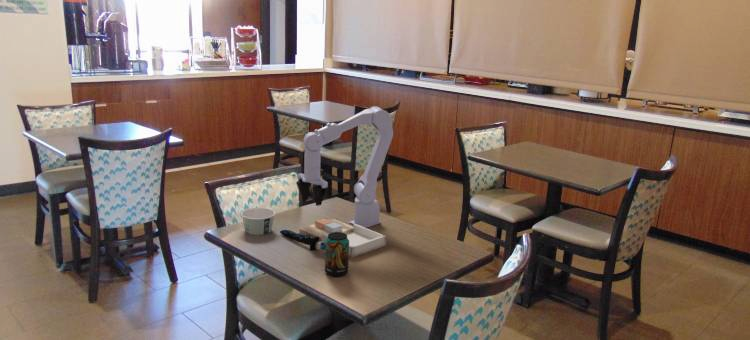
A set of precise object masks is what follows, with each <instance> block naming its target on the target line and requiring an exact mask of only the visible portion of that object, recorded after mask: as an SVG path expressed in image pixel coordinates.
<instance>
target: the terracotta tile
mask: <svg viewBox="0 0 750 340" xmlns="http://www.w3.org/2000/svg"><path fill="white" fill-rule="evenodd" d="M330 220H331V219H327V218H324V217H323V218H321V219H318V220H315V221H314V222H315V223H314V224H315V226H316V227H318V228H320V229H323V230H324V225H326V224H329V223H332V222H333V221H330Z"/></svg>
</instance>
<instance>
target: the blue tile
mask: <svg viewBox="0 0 750 340" xmlns="http://www.w3.org/2000/svg"><path fill="white" fill-rule="evenodd" d="M324 230H325V231H327V232H330V233H333V232H340V231H342V225H340V224H338V223H335V222H332V223H329V224H326V225H324Z"/></svg>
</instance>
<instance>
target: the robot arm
mask: <svg viewBox="0 0 750 340" xmlns="http://www.w3.org/2000/svg"><path fill="white" fill-rule="evenodd" d="M361 125H367V126H373V127H374V128H375V131H376V132H377V134H378V135H377V137H376V140H375V142H374V145H373V147H372V148H373V149H372V151H371V154H370V156H369V158H368V161H367V164H366V167H365V170H364V173H363V174H362V175H361V176H359V179H358V181H357V182H356V183H355V184H354V185H353V192H354V194H355V195H356V196H355V198H354V211H353V212H354V214H353V219H352V220H349V221H348V223H349V224H351V225H353V226H354V224H357V225H360V226H362V227H365V228H367V229H368V228H370V227H372V226H375V225H378V224H381V223H382V222H381V221H380V213H381V212H380V211H381V208H380V207H381V206H380V203H379V201H378V199H376V197H377V188H378V177H379V175H380V172H381V169H382V166H383V164H384V161H385V159H386V156H387V153H388V151H389V147H390V146H391V144H392V140H393V138H394V129H393V118H392V116H391V115H390V114H389V112H388V111H387V110H385V109H383V108H381V107H379V106H377V105H376V106H374V105H373V106H371V107H369V108H366V109H363V110H362V111H360V112H358V113H356V114H354V115H353V116H351V117H349V118H347V119H345V120H343V121H341V122H339V123H335V122H331V123H330V122H328V123H326V124H325V126H324V127H321V128H319V129H317V128H316V129H314V130H313V131H311V132H310V131H309V132H307V133H306V134H305V136H304V137H303V139H302V141H303V142H302V143H303V144H304V157H303V158H304V160H303V161H304V162H303V163H304V165H303V166H304V167H303V172H304V173H301V172H300V173H297V180H298V181H296V184H295V185H297V187H298V190H299V193H300V196H301V200H302V201H307V200H309V196H310V195H309V194H310V187H311V184H312V185H315V186H314V187H312V190H313V192H314V201H315V206H317V207H319V206H321V205H322V204H323V200H324V197H325V194H326V193H327V191H328V189H329V186H328V185H329V183H328V181H326V180H325V179H323V178H322V177H321V161H322V159H321V157H322V156H321V155H322V154H321V149H322V148H323V146H324V145H326V144H329V143H330V142H333V141H335V140H337V139H339V138H341V135H342V134H343V133H344V132H346V131H349V130H351V129H354V128H356V127H358V126H361Z"/></svg>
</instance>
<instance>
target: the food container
mask: <svg viewBox="0 0 750 340" xmlns="http://www.w3.org/2000/svg"><path fill="white" fill-rule="evenodd" d="M275 215H276V212H275V210H273V209H271V208H269V207H268V208H267V207H251V208H248V209H245V210H244V209H243V210H242V211H241V213H240V216H241V217H242V222H243V227H244V231H245V233H246V232H247V234H248V233H249V235H252V234H253V235H252V236H254V235H255V236H261V235H262V236H263V235H267V234H270V233H271V232H272V231H273V230H272V229H273V224H274V223H273V222H274V218H275Z"/></svg>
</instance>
